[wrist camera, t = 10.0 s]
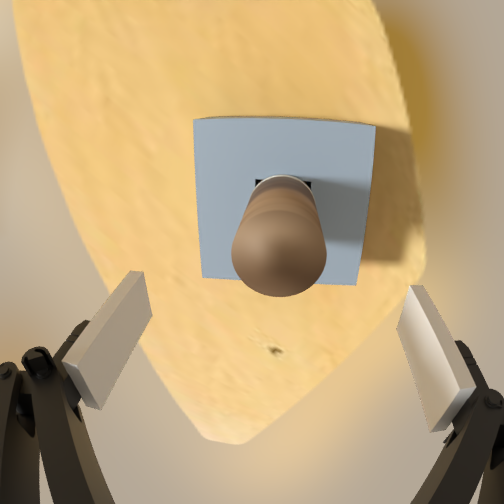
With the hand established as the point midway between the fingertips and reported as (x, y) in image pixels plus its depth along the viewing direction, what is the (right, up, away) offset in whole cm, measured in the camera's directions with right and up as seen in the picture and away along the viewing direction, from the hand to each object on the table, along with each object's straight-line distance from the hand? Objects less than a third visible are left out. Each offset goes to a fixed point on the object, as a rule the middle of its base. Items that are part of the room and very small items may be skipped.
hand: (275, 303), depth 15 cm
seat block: (+2, +9, +19) cm, 21 cm away
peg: (+2, +9, +18) cm, 20 cm away
